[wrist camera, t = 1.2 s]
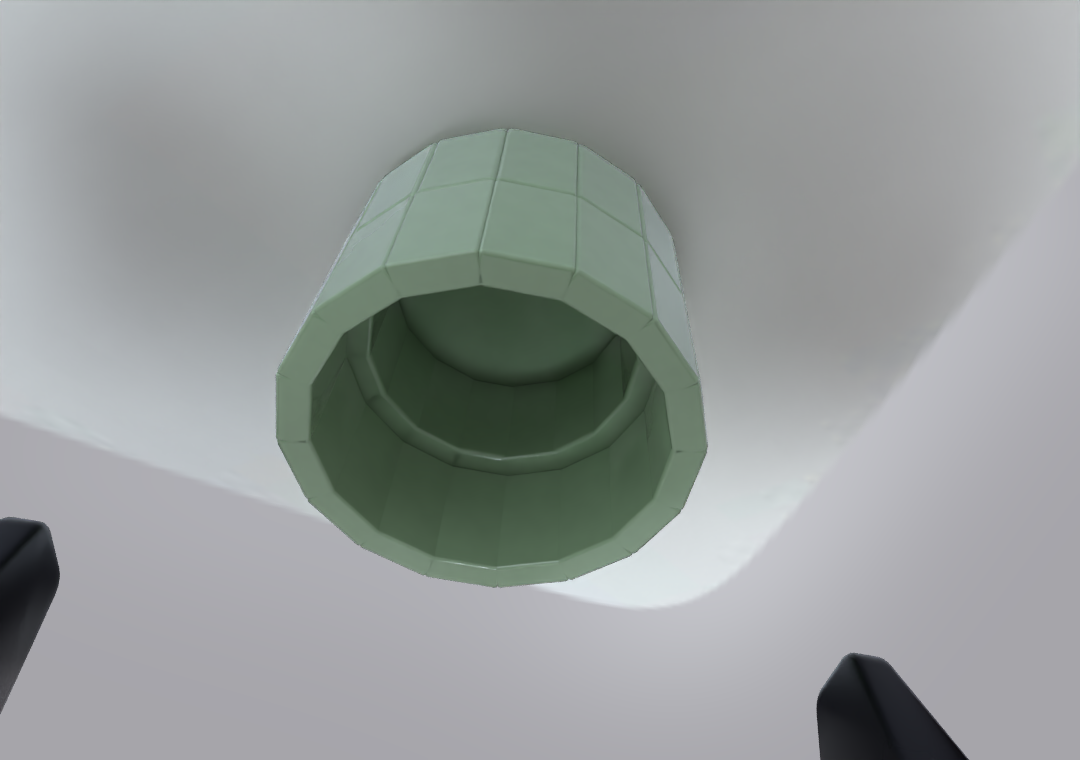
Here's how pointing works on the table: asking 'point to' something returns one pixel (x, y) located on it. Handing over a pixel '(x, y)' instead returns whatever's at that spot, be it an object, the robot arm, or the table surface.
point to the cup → (498, 367)
